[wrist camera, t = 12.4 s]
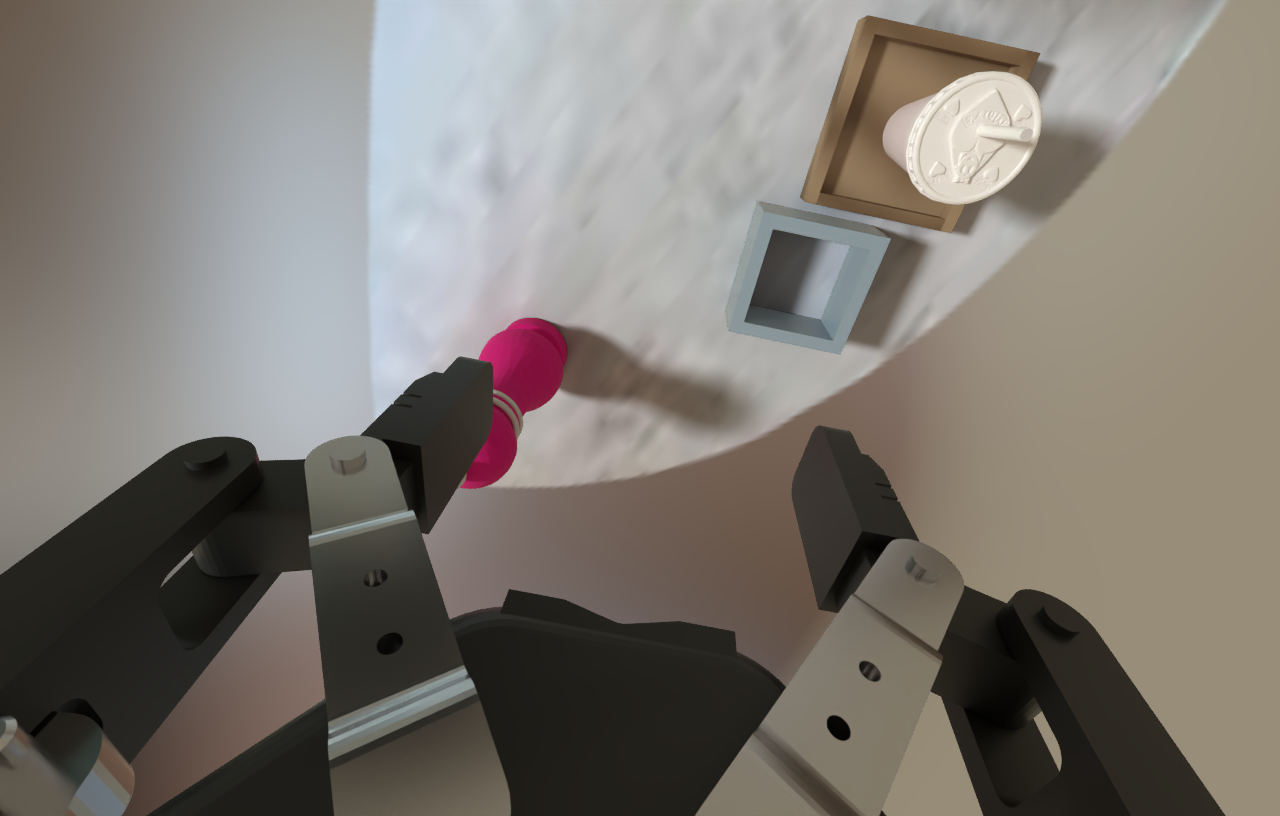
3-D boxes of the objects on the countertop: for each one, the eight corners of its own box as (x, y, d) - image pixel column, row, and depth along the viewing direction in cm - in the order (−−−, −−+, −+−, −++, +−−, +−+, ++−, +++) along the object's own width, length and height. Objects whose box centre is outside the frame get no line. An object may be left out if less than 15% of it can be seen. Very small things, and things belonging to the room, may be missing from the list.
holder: (757, 200, 39) (763, 211, 35) (872, 225, 39) (891, 238, 35) (725, 311, 44) (728, 331, 40) (827, 332, 44) (840, 354, 40)
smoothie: (977, 82, 33) (1133, 70, 21) (939, 187, 37) (1057, 227, 25) (878, 74, 34) (979, 58, 22) (850, 178, 37) (924, 215, 25)
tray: (858, 20, 33) (867, 15, 31) (1020, 56, 33) (1040, 53, 31) (800, 197, 39) (805, 201, 37) (938, 226, 39) (951, 233, 37)
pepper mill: (546, 299, 45) (456, 418, 28) (586, 365, 48) (526, 509, 31) (482, 330, 47) (362, 458, 30) (524, 392, 50) (436, 540, 33)
